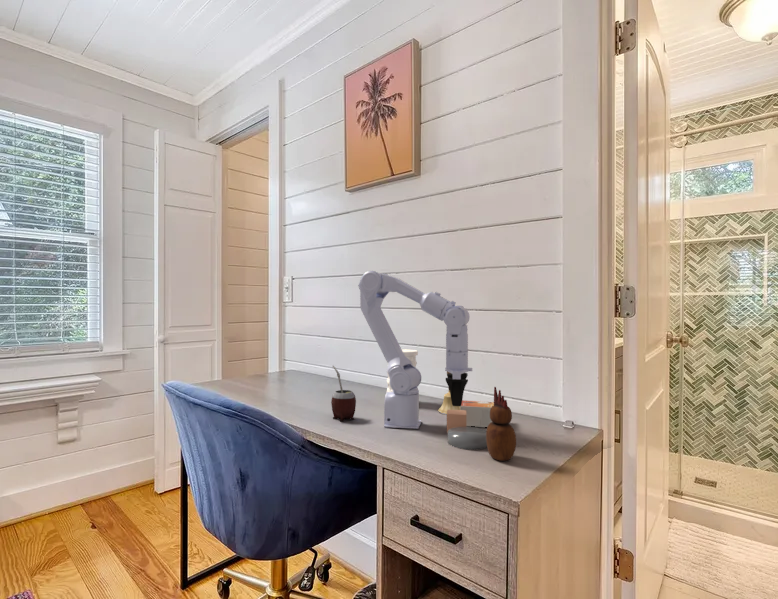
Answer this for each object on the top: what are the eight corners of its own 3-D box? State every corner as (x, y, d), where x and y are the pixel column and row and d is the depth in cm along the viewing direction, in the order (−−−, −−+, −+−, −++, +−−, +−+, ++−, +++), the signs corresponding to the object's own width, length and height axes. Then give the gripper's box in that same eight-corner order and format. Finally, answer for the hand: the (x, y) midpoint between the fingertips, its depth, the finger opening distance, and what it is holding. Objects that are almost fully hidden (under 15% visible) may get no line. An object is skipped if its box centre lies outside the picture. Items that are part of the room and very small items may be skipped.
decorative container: (381, 406, 141) (382, 351, 141) (387, 399, 152) (388, 348, 153) (416, 408, 139) (417, 352, 139) (420, 400, 150) (420, 349, 151)
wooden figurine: (482, 453, 95) (482, 385, 96) (508, 452, 96) (508, 385, 96) (492, 464, 88) (492, 391, 89) (519, 463, 89) (519, 391, 89)
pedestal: (446, 448, 98) (447, 437, 99) (448, 435, 108) (448, 425, 108) (491, 450, 97) (491, 439, 97) (488, 437, 107) (488, 427, 107)
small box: (499, 408, 115) (460, 405, 117) (499, 428, 115) (460, 426, 117) (498, 401, 123) (461, 399, 125) (498, 421, 123) (461, 419, 125)
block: (446, 433, 111) (446, 414, 111) (447, 428, 116) (447, 409, 116) (466, 434, 110) (466, 414, 110) (466, 429, 115) (466, 410, 115)
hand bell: (460, 416, 128) (460, 363, 129) (434, 413, 132) (434, 361, 132) (467, 410, 136) (467, 360, 136) (442, 408, 139) (442, 359, 140)
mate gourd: (353, 422, 120) (353, 369, 121) (325, 421, 121) (326, 368, 122) (357, 416, 128) (358, 365, 128) (332, 415, 129) (332, 365, 129)
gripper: (472, 354, 106) (473, 409, 105) (471, 349, 120) (471, 397, 120) (444, 353, 107) (444, 408, 106) (446, 348, 121) (446, 396, 121)
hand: (457, 402), depth 113 cm, fingers open, 7 cm apart
